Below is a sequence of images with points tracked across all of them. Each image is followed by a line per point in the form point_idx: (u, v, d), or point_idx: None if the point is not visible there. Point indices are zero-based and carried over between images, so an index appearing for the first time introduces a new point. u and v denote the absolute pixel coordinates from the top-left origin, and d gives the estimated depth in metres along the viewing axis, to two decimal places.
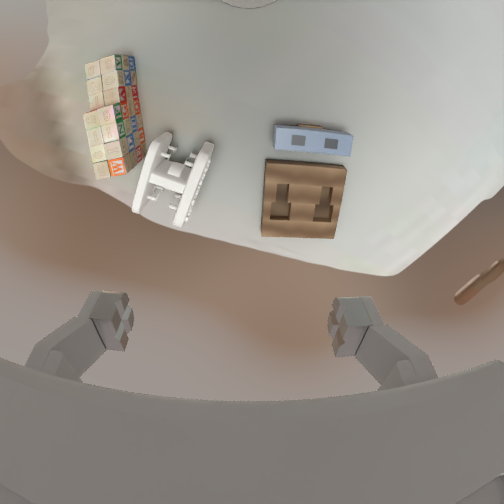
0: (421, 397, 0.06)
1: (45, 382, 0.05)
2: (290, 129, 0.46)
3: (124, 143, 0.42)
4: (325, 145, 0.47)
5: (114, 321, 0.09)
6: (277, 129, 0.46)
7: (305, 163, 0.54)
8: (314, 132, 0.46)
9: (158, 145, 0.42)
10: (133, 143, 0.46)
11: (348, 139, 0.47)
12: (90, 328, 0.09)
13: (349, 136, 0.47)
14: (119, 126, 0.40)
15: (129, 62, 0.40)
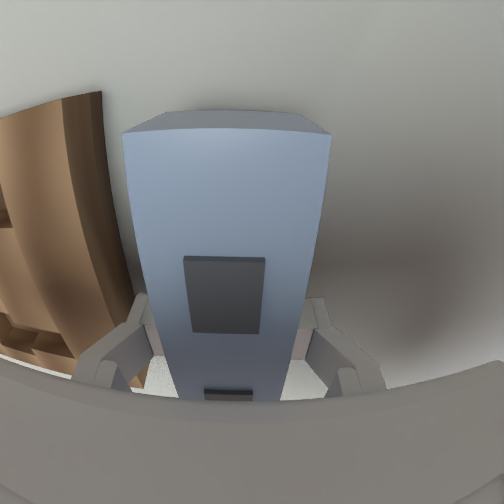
0: (421, 397, 0.06)
1: (45, 382, 0.05)
2: (308, 243, 0.06)
3: None
4: (215, 397, 0.10)
5: None
6: (315, 143, 0.05)
7: (113, 267, 0.12)
8: (281, 359, 0.09)
9: None
10: None
11: None
12: (141, 334, 0.09)
13: None
14: None
15: None
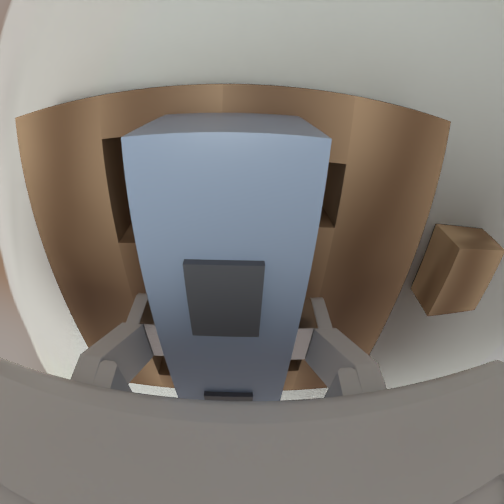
0: (421, 397, 0.06)
1: (45, 382, 0.05)
2: (307, 247, 0.06)
3: None
4: (215, 398, 0.10)
5: None
6: (314, 147, 0.05)
7: None
8: (281, 361, 0.09)
9: None
10: None
11: None
12: (141, 334, 0.09)
13: None
14: None
15: None
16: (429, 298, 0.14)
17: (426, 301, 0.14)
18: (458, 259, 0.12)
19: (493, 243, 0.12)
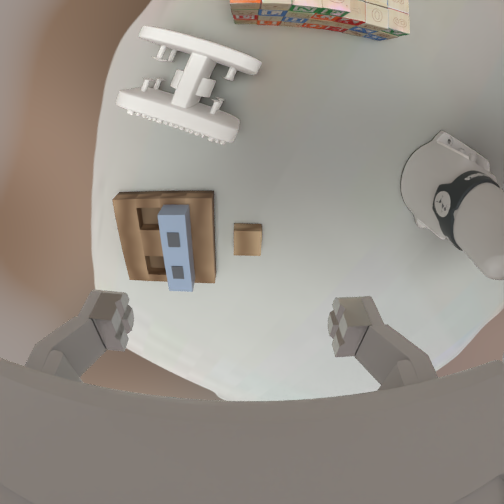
0: (421, 397, 0.06)
1: (45, 382, 0.05)
2: (185, 230, 0.40)
3: (279, 7, 0.21)
4: (173, 267, 0.44)
5: (114, 321, 0.09)
6: (182, 216, 0.39)
7: None
8: (186, 255, 0.43)
9: (253, 70, 0.25)
10: (267, 14, 0.25)
11: (187, 287, 0.46)
12: (90, 328, 0.09)
13: (190, 288, 0.46)
14: (311, 8, 0.21)
15: (379, 36, 0.28)
16: None
17: None
18: (235, 234, 0.46)
19: (258, 229, 0.46)
